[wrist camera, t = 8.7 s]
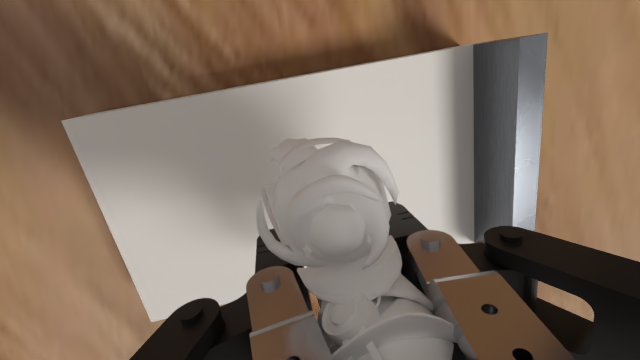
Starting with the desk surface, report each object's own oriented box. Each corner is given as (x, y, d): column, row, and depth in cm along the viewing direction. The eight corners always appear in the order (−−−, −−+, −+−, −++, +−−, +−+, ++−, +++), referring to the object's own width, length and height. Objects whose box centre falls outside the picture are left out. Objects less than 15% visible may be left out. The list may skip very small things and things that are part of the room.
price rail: (492, 237, 19) (532, 266, 16) (474, 242, 19) (510, 271, 16) (496, 40, 15) (547, 32, 13) (473, 44, 15) (520, 37, 12)
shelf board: (463, 216, 22) (492, 237, 19) (167, 287, 20) (151, 322, 17) (460, 45, 18) (496, 40, 15) (96, 112, 16) (60, 120, 13)
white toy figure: (374, 262, 17) (600, 649, 5) (303, 288, 16) (388, 745, 5) (326, 93, 14) (622, 184, 2) (238, 122, 13) (102, 373, 2)
